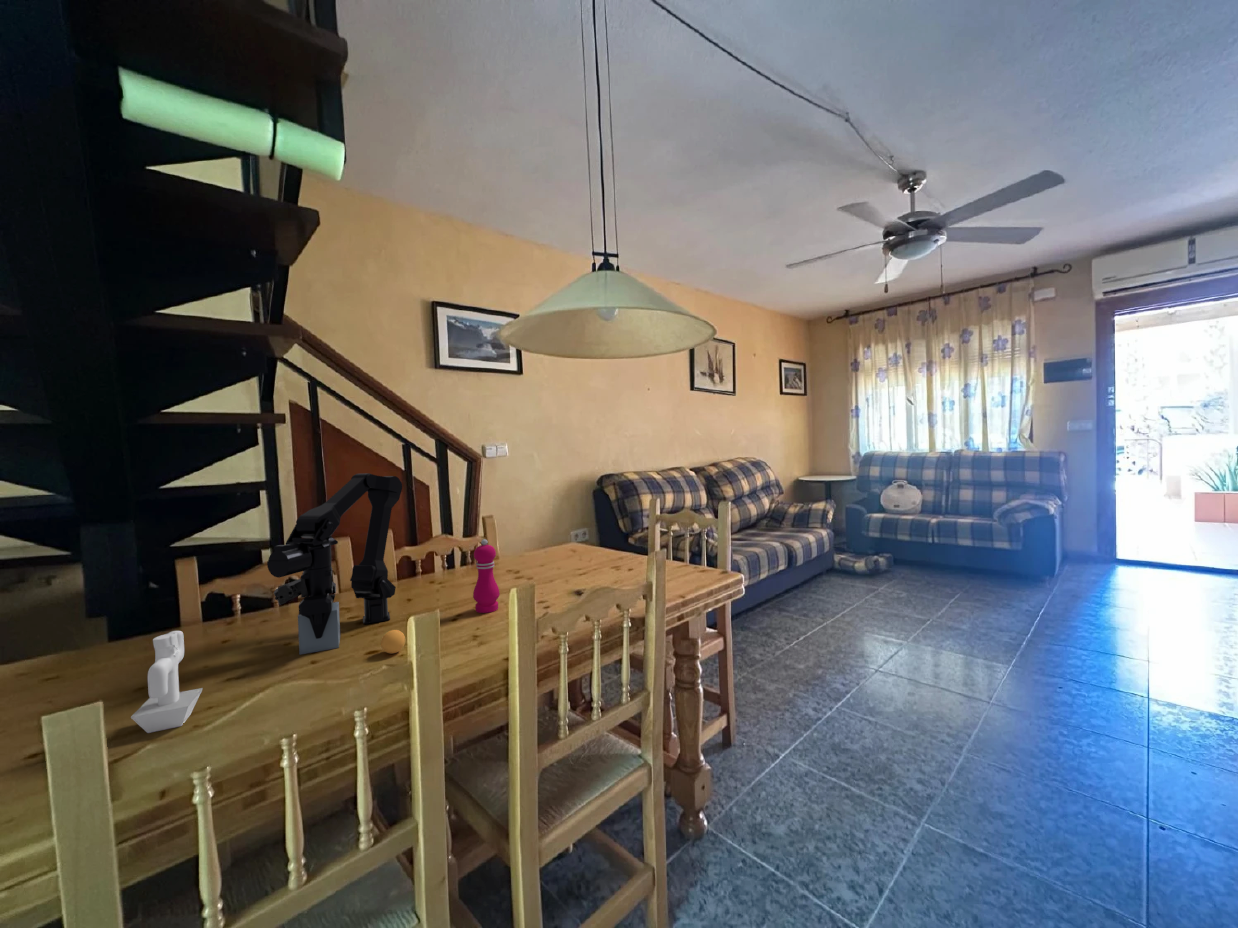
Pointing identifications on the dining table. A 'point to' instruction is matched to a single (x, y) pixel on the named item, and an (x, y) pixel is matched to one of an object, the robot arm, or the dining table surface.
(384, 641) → the ball
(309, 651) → the slate grey cube
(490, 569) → the pepper mill
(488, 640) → the dining table surface
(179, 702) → the figurine
